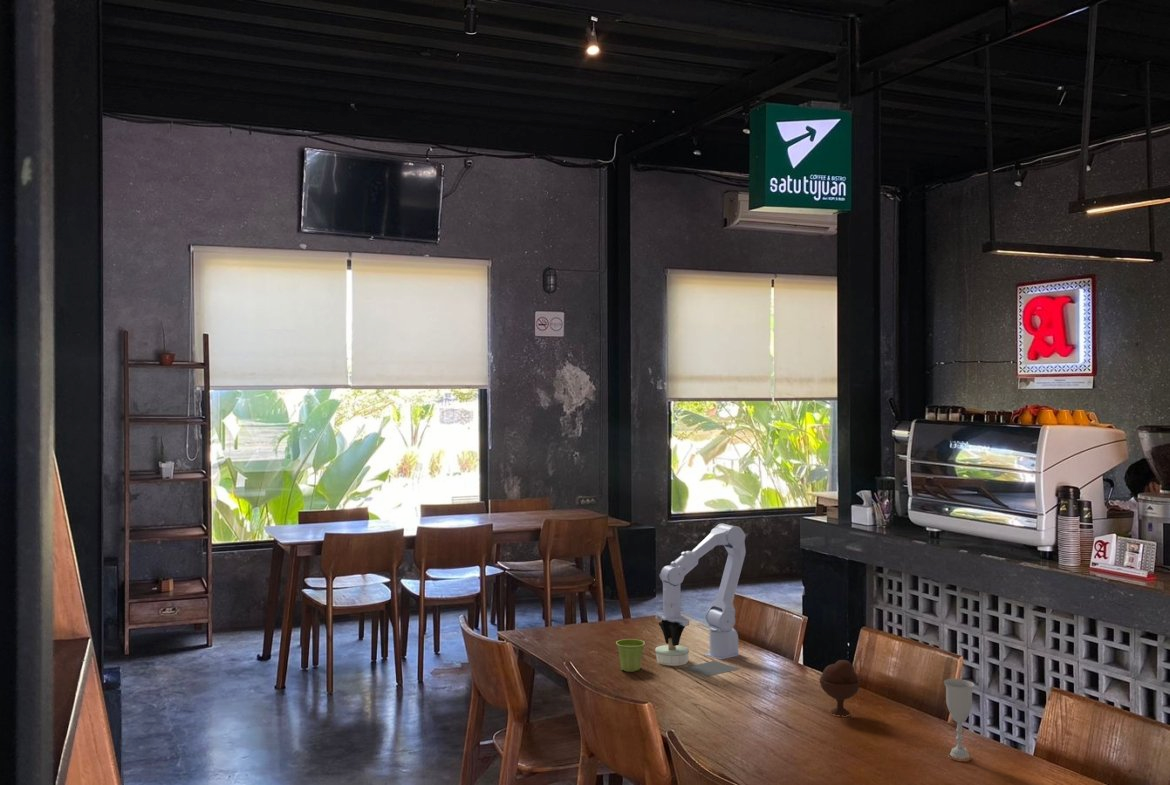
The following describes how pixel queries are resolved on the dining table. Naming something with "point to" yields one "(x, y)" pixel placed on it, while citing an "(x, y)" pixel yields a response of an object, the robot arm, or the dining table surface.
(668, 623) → the robot arm
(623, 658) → the plant pot
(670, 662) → the bowl
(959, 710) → the chalice
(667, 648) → the lid
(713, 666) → the mat
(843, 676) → the ice cream bowl
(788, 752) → the dining table surface
